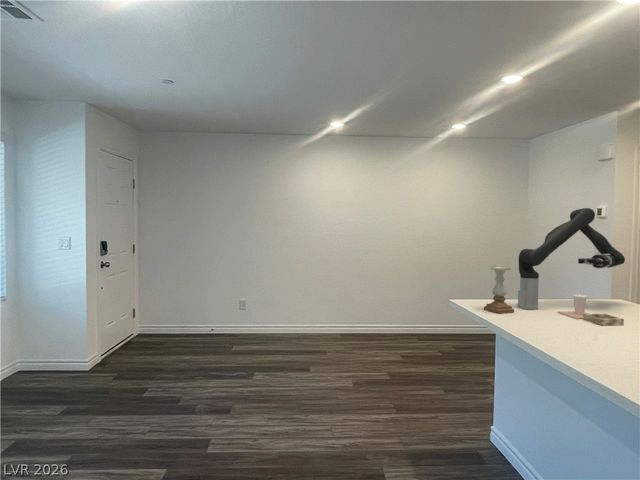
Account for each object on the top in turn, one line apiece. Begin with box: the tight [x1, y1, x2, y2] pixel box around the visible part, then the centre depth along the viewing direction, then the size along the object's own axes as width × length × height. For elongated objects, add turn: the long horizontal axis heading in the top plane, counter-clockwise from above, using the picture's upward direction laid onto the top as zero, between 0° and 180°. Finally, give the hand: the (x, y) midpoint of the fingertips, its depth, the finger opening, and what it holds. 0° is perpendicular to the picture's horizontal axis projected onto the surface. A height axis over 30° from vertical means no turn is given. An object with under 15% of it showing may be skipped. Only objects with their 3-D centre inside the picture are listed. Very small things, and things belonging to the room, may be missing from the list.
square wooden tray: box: [582, 313, 625, 327], centre depth 196 cm, size 11×11×3 cm
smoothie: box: [572, 286, 588, 315], centre depth 210 cm, size 6×6×14 cm
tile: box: [557, 310, 591, 320], centre depth 210 cm, size 14×14×1 cm
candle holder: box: [483, 266, 515, 315], centre depth 220 cm, size 11×11×24 cm
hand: (588, 262), depth 217 cm, fingers open, 8 cm apart
